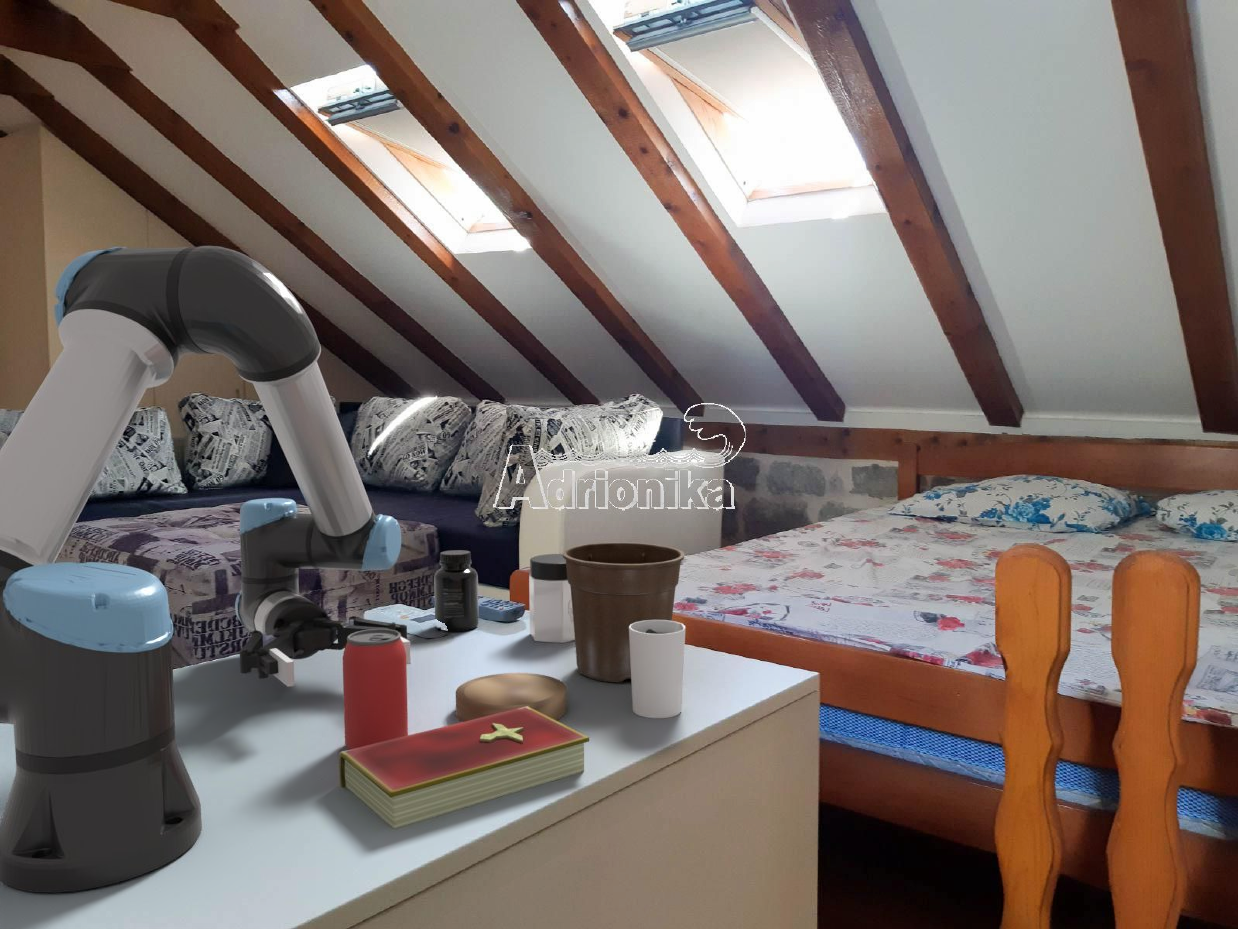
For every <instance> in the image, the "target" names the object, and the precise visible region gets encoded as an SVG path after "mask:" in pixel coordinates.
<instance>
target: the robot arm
mask: <svg viewBox="0 0 1238 929" xmlns="http://www.w3.org/2000/svg"><path fill="white" fill-rule="evenodd" d="M59 276H60V277H59V278H58V279H57V282H56V286H55V289H54V297H55V298H56V299H57V300H58V301H57V303H56V304H54V305H53V312H54V318H55V321H56V325H57V328H58V331H57V332H58V337H59V340H60V343H61V345H62V347H63V350H62V351H61V353H59V355H58V357H57V359H56V361H55V362H54V364H53V366H52V367H51V368H50V369H49V372H48V373H47V375H46V376H45V378H44V380H43V381H42V383H41V384H40V386H39V388H38V389H37V391H36V393H35V394H34V396H33V397H32V399H31V401H30V402H29V404H28V405H27V407H26V408H25V410H24V411H23V413H22V415H21V416H20V418H19V419H18V421H17V423H16V424H15V426H14V428H13V430H12V431H11V432H10V434H9V436H8V437H7V439H6V441H5V442H4V444H3V446H1V449H0V724H3V725H4V724H6V725H13V739H14V749H15V750H14V752H15V776H14V778H13V781H12V782H13V783H12V786H11V787H10V788H11V789H10V792H9V795H8V799H7V802H6V803H5V804H6V805H5V807H4V808H5V809H4V811H3V815H2V818H1V821H0V881H2V883H4V884H5V885H8V886H9V887H12V888H14V889H18V890H22V891H27V892H36V893H64V892H75V891H76V892H77V891H81V890H82V891H83V890H90V889H94V888H100V887H105V886H109V885H113V884H117V883H121V882H123V881H128V880H130V879H133V878H136V877H139V876H142V875H144V874H147V873H150V872H151V871H154V870H156V869H158V868H161V867H162V866H165V865H166V864H168V863H170V862H172V861H174V860H175V859H177V858H178V857H180V856H182V855H183V854H184V853H185V852H186V851H188V850H189V849H190V848H191V847H192V846H193V845H194V844H195V843H196V842H197V840H198V839H199V838H200V836H201V833H202V829H203V826H202V825H203V824H202V821H203V820H202V806H201V805H202V804H201V801H200V797H199V795H198V793H197V790H196V788H195V785H194V783H193V781H192V778H191V777H190V776H191V775H190V774H189V772H188V769H187V767H186V765H185V763H184V760H183V758H182V755H181V752H180V750H179V748H178V746H177V742H176V741H177V740H176V739H177V738H176V723H175V719H176V718H175V717H176V715H175V691H174V690H175V688H174V687H175V686H174V664H173V639H172V638H173V634H174V623H173V620H172V618H171V612H170V604H169V596H168V591H167V588H166V587H165V585H163V583H162V581H161V580H160V579H159V578H158V577H157V576H156V575H154V574H153V573H150V572H149V571H147V570H143V569H141V568H137V567H134V566H129V565H123V564H119V563H117V564H116V563H111V562H110V563H108V562H93V561H89V562H88V561H87V562H83V563H81V562H71V561H69V562H68V561H64V562H56V560H57V558H58V556H59V554H60V552H61V551H62V549H63V546H64V545H65V543H66V541H67V540H68V538H69V536H70V534H71V532H72V529H73V528H74V527H75V524H76V522H77V521H78V519H79V516H80V514H81V513H82V511H83V509H84V507H85V506H86V503H87V502H88V499H89V497H90V496H91V494H92V493H93V491H94V489H95V487H96V485H97V483H98V481H99V479H100V478H101V476H102V473H103V472H104V470H105V468H106V466H107V464H108V462H109V461H110V458H111V457H112V455H113V453H114V450H115V448H116V447H117V445H118V444H119V441H120V439H122V438H121V437H122V436H123V434H124V432H125V430H126V429H127V426H128V425H129V423H130V420H131V419H132V417H133V415H134V413H135V412H136V409H137V408H138V406H139V404H140V402H141V400H142V398H143V396H144V395H145V392H146V391H147V389H150V388H156V387H159V386H161V385H163V384H165V383H167V382H168V381H169V379H171V376H172V375H173V373H174V372H175V369H176V367H177V365H178V363H179V362H180V359H181V358H182V357H183V356H184V355H197V354H199V355H203V354H204V355H208V354H210V355H211V354H220V355H222V356H223V357H226V358H228V359H229V360H231V362H232V363H233V366H234V368H235V369H236V372H237V373H238V375H239V377H240V378H241V379H242V380H243V381H245V382H248V383H251V384H252V386H254V389H255V391H256V393H257V395H258V398H259V401H260V403H261V405H262V407H263V409H264V411H265V414H266V416H267V418H268V421H269V422H270V425H271V427H272V429H273V431H274V435H276V438H277V440H278V443H279V445H280V448H281V450H282V451H283V453H284V456H285V458H286V460H287V463H288V464H289V467H290V469H291V472H292V474H293V476H294V478H295V480H296V482H297V485H298V487H299V489H300V492H301V493H302V496H303V498H304V500H305V503H306V504H307V507H308V509H309V512H310V513H299V510H298V508H297V507H298V506H297V503H296V501H295V500H294V499H291V498H285V497H284V498H283V497H270V498H269V497H267V498H258V499H251V500H247V501H245V502H244V503H242V505H241V506H240V510H239V531H238V536H239V548H240V565H241V580H240V584H241V585H240V586H241V589H240V590H239V592H238V594H237V596H236V598H235V602H234V610H235V614H236V616H237V619H238V620H239V621H240V623H241V625H242V626H243V627H244V629H246V632H247V631H248V632H249V633H250V634H249V635H250V636H249V639H248V640H247V642H246V643H245V645H244V646H242V648H241V649H240V650H239V670H240V673H241V674H245V675H246V674H249V673H252V671H253V670H254V669H257V677H258V678H259V679H267V678H268V679H269V677H270V675H273V676H274V677H275V678H276V679H278V681H280V682H281V683H283V684H284V685H285V686H286V687H293V686H295V660H304V659H307V658H310V657H312V656H314V655H315V654H317V653H318V652H319V651H321V652H322V651H326V650H334V651H335V650H336V651H342V650H344V649H345V647H346V644H347V637H348V636H349V635H350V634H352V633H355V632H358V631H362V630H369V629H391V630H395V631H398V632H399V633H400V634H401V637H400V638H401V640H402V643H403V645H404V648H405V652H406V665H411V641H410V640H408V628H407V627H408V625H405V624H399V623H396V622H394V621H393V622H386V621H379V620H372V619H367V618H362V617H360V616H355V615H352V616H349V617H348V623H347V621H346V620H345V621H344V620H334V619H333V620H331V618H329V616H328V614H327V612H326V611H325V610H324V609H323V608H322V607H321V606H319V605H318V604H316V603H315V602H313V601H311V600H310V599H308V598H307V597H305V596H302V595H301V594H300V591H299V590H300V589H299V588H300V587H299V586H300V585H299V575H300V571H299V569H305V570H307V569H312V570H313V569H315V570H317V569H318V570H319V569H320V570H335V571H336V570H337V571H338V570H339V571H341V570H342V571H360V572H366V571H383V570H385V571H386V570H390V569H391V568H392V567H393V566H395V564H396V563H397V561H398V559H399V556H400V552H401V550H402V548H401V547H402V532H401V527H400V524H399V522H398V520H397V519H395V518H394V516H391V515H385V514H384V515H383V514H382V513H379V514H375V512H374V509H373V507H372V504H371V503H370V499H369V497H368V496H369V495H368V494H367V492H366V489H365V486H364V484H363V481H362V477H361V475H360V473H359V470H358V467H357V464H356V462H355V460H354V456H353V455H352V452H351V449H350V446H349V443H348V441H347V439H346V438H347V437H346V436H345V432H344V430H343V428H342V426H341V422H340V420H339V417H338V415H337V411H336V410H335V407H334V403H333V401H332V398H331V396H330V394H329V391H328V388H327V385H326V382H325V380H324V377H323V375H322V372H321V370H320V369H321V368H320V367H319V364H318V359H319V358H320V355H321V352H322V348H321V344H320V341H319V339H318V336H317V332H316V330H315V328H314V324H312V322H311V320H310V318H309V316H308V315H307V313H306V311H305V309H304V307H303V306H302V305H301V303H300V302H299V301H298V299H297V298H296V297H295V295H294V294H293V293H292V292H291V291H290V290H289V288H288V287H287V286H286V285H285V284H284V283H283V282H282V281H281V280H280V279H279V278H278V277H277V276H276V275H275V274H273V272H272V271H270V270H268V269H267V268H266V267H265V266H264V265H262V264H261V263H259V262H258V261H257V260H255V259H254V258H252V257H250V256H247V255H246V254H244V253H242V252H239V251H237V250H234V249H230V248H226V247H224V246H217V245H216V246H215V245H214V246H213V245H200V246H185V247H184V246H180V247H177V246H176V247H168V246H167V247H130V246H129V247H128V246H127V247H124V246H115V247H109V248H106V249H100V250H92V251H89V252H85V253H83V254H81V255H79V256H78V257H76V258H74V259H73V260H72V261H71V262H70V263H68V265H66V267H65V268H64V269H63V271H62V273H61V274H60V275H59ZM336 641H337V642H336Z"/></svg>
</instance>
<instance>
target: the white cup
mask: <svg viewBox="0 0 1238 929" xmlns="http://www.w3.org/2000/svg"><path fill="white" fill-rule="evenodd" d="M629 641H630V661H631V679H630V680H631V681H630V682H631V698H632V700H631V702H632V711H633V712H634V714H636V715H637V716H640V717H642V718H643V717H644V718H648V719H666V718H667V719H669V718H673V717H676V716H679V714H681V713H680V712H682V706H683V703H682V702H683V685H684V668H685V667H684V666H685V665H684V664H685V645H686V644H685V643H686V625H684V623H682V622H678V621H673V620H672V621H668V620H644V621H639V622H635V623H633V624H630V626H629Z"/></svg>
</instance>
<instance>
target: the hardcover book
mask: <svg viewBox="0 0 1238 929" xmlns="http://www.w3.org/2000/svg"><path fill="white" fill-rule="evenodd" d="M588 742H590V736H587V735H585V734H583V733H581V732H579V731H577V730H576V729H573V728H572V727H569V726H568V725H565V724H564V723H561V722H560V721H558V720H554V719H552V718H550V717H548V716H546V715H544V714H542V713H540V712H538V711H536V710H534V709H532V708H530V707H528V706H527V707H522V708H518V709H514V710H510V711H506V712H502V713H498V714H494V715H490V716H486V717H482V718H478V719H473V720H469V721H465V722H461V721H460V722H457V723H454V724H449V725H446V726H442V727H437V728H433V729H428V730H425V731H421V732H416V733H413V734H412V733H411V734H408V736H404V737H400V738H396V739H392V740H388V741H383V742H379V743H375V744H371V745H367V746H363V747H359V748H355V749H351V750H349V749H348V750H347V749H346V750H343V751H340V752H339V760H338V764H339V766H338V768H339V770H338V771H339V783H340V787H341V788H345V787H346V788H347V789H348V790H349V791H350V792H351V793H352V794H354V795H355V796H356V797H357V799H360V800H361V802H363V803H364V804H365V805H366V806H367V807H368V808H370V809H371V810H372V812H374V813H376V815H378V816H379V817H380V818H381V819H382V820H383V821H384V822H386V824H387V825H389V826H390V827H391V828H392V829H394V830H395V829H398V828H403V827H406V826H408V825H412V824H415V823H418V822H422V821H424V820H429V819H431V818H434V817H438V816H442V815H445V814H447V813H451V812H454V811H458V810H461V809H464V808H467V807H471V806H474V805H478V804H481V803H485V802H487V801H491V800H494V799H497V797H498V798H500V797H503V796H507V795H511V794H514V793H517V792H520V790H521V791H524V790H527V789H530V787H531V788H534V787H537V786H541V785H543V784H547V783H550V782H552V781H556V780H560V779H562V778H563V779H564V778H566V777H569V776H574V775H576V774H580V773H583V772H584V771H585V744H586V743H588Z"/></svg>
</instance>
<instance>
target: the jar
mask: <svg viewBox="0 0 1238 929" xmlns="http://www.w3.org/2000/svg"><path fill="white" fill-rule="evenodd" d="M528 577H529V579H528V582H529V583H528V584H529V585H528V588H529V589H528V590H529V601H528V602H529V633H530V636H531V637H532V639H533V640H534V641H535V642H542V643H551V644H552V643H554V644H565V643H570V642H573V641H574V642H575V634H574V622H573V610H572V598H571V586H570V584H569V583H568V578H567V567H566V559H564V558H563V555H562V553H549V554H540V555H536V556H532V557H531V558H530V559H529V575H528Z"/></svg>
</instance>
